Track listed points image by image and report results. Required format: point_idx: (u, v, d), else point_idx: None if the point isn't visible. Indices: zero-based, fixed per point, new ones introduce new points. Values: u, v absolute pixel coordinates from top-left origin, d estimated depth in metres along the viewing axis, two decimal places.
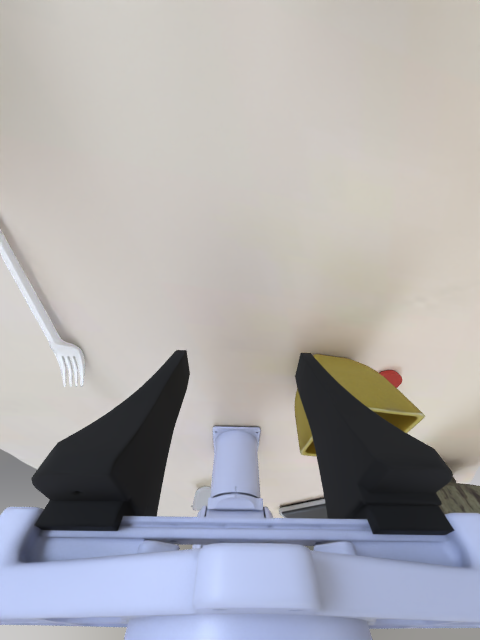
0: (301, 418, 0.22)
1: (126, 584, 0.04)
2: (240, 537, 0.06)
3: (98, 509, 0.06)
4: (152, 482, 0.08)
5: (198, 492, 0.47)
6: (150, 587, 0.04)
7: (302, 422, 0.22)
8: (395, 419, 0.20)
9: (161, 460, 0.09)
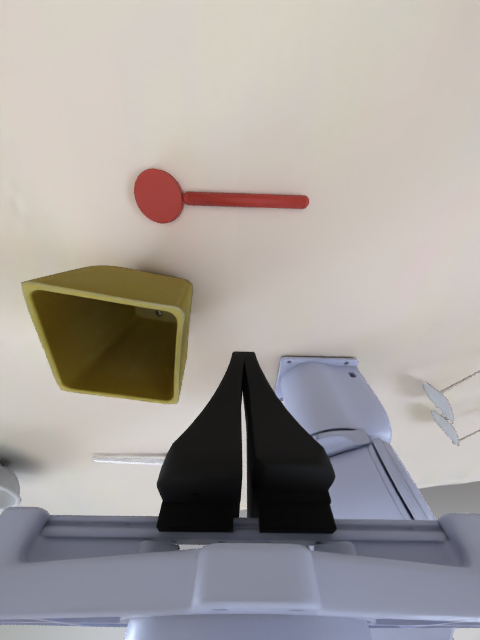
0: None
1: (126, 584, 0.04)
2: (240, 537, 0.06)
3: (211, 510, 0.06)
4: None
5: (438, 423, 0.31)
6: (150, 587, 0.04)
7: None
8: None
9: None
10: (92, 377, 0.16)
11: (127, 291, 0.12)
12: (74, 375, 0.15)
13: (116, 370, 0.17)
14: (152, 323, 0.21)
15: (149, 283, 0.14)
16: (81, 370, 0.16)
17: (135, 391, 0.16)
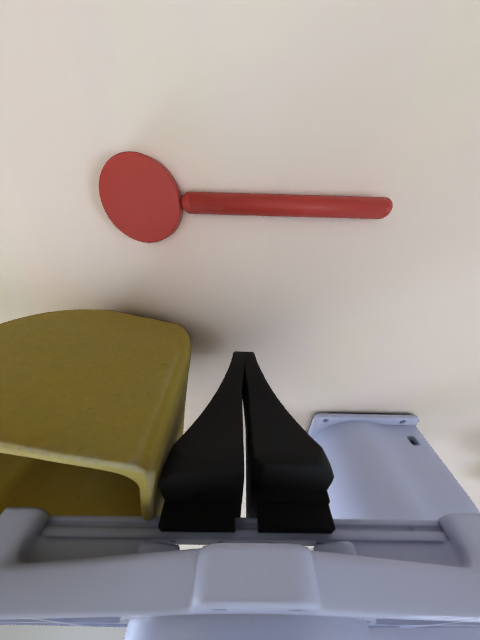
0: None
1: (126, 584, 0.04)
2: (240, 537, 0.06)
3: (212, 510, 0.06)
4: None
5: None
6: (150, 587, 0.04)
7: None
8: None
9: None
10: (20, 499, 0.10)
11: (36, 406, 0.05)
12: None
13: (64, 479, 0.10)
14: None
15: (105, 362, 0.07)
16: (5, 483, 0.10)
17: None
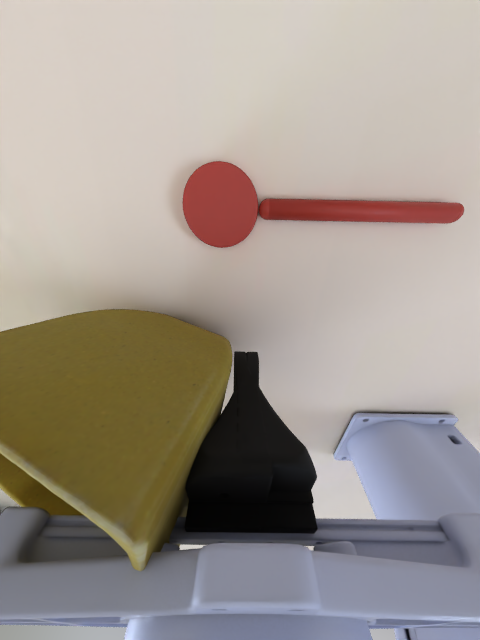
0: None
1: (126, 584, 0.04)
2: (240, 537, 0.06)
3: (237, 511, 0.06)
4: None
5: None
6: (150, 587, 0.04)
7: None
8: None
9: None
10: None
11: (55, 410, 0.05)
12: None
13: None
14: None
15: (137, 370, 0.07)
16: None
17: None
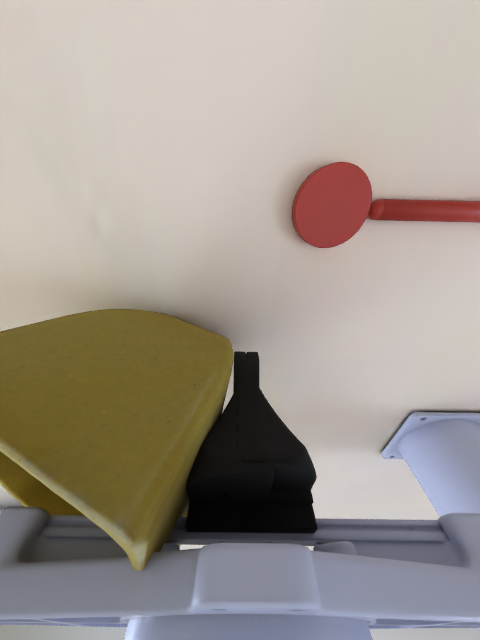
0: None
1: (126, 584, 0.04)
2: (240, 537, 0.06)
3: (238, 510, 0.06)
4: None
5: None
6: (150, 587, 0.04)
7: None
8: None
9: None
10: None
11: (56, 409, 0.05)
12: None
13: None
14: None
15: (138, 370, 0.07)
16: None
17: None
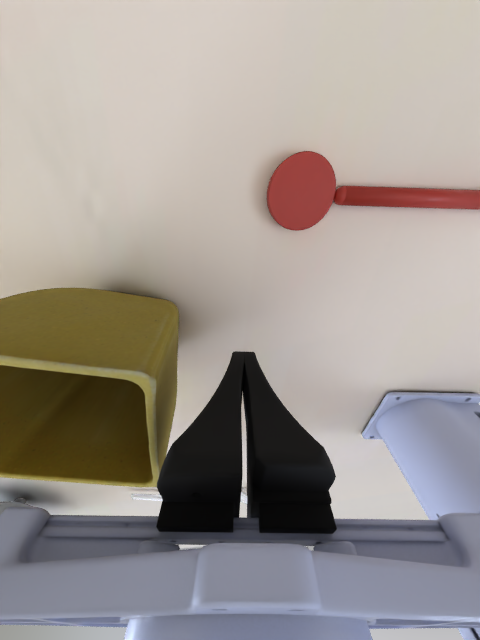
0: None
1: (126, 584, 0.04)
2: (240, 537, 0.06)
3: (211, 510, 0.06)
4: None
5: None
6: (150, 587, 0.04)
7: None
8: None
9: None
10: (38, 450, 0.11)
11: (60, 342, 0.07)
12: (9, 449, 0.11)
13: (74, 434, 0.12)
14: None
15: (108, 319, 0.09)
16: (22, 438, 0.11)
17: (98, 469, 0.11)
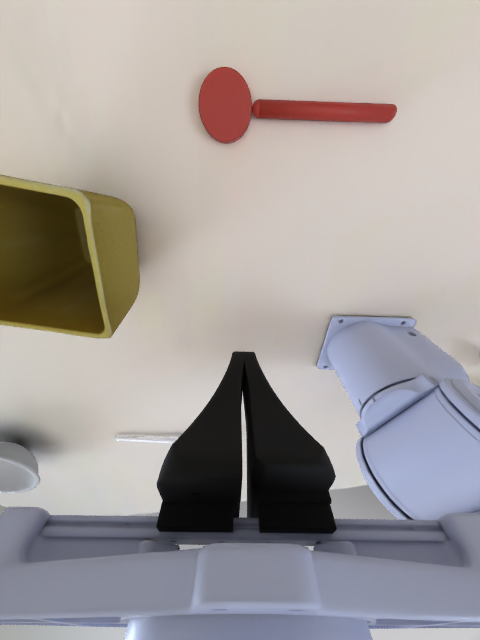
0: None
1: (126, 584, 0.04)
2: (240, 537, 0.06)
3: (211, 510, 0.06)
4: None
5: None
6: (150, 587, 0.04)
7: None
8: None
9: None
10: (16, 310, 0.14)
11: None
12: None
13: (47, 306, 0.15)
14: None
15: None
16: (4, 303, 0.14)
17: (63, 324, 0.14)
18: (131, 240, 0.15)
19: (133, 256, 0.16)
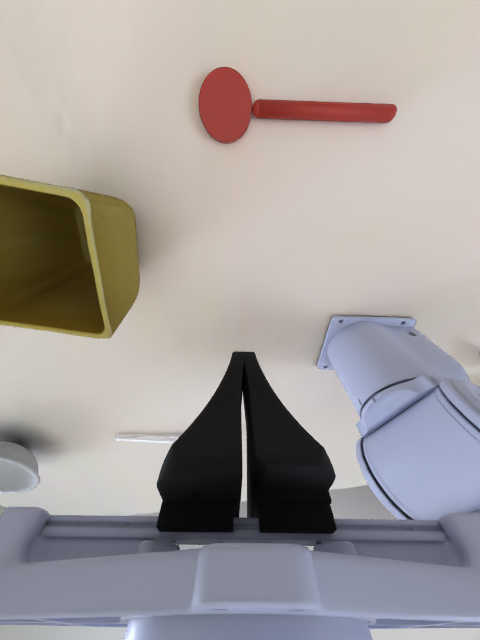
0: None
1: (126, 584, 0.04)
2: (240, 537, 0.06)
3: (211, 510, 0.06)
4: None
5: None
6: (150, 587, 0.04)
7: None
8: None
9: None
10: (16, 310, 0.14)
11: None
12: None
13: (47, 306, 0.15)
14: None
15: None
16: (4, 303, 0.14)
17: (63, 324, 0.14)
18: (131, 240, 0.15)
19: (133, 256, 0.16)
